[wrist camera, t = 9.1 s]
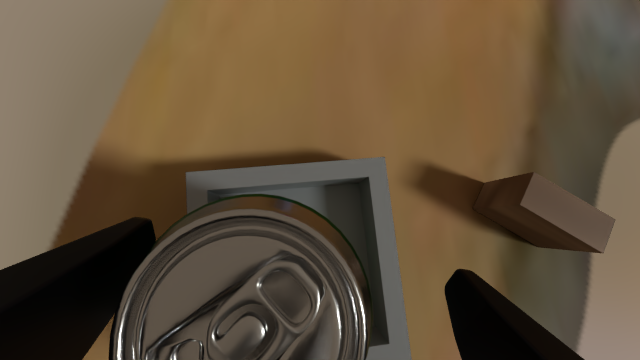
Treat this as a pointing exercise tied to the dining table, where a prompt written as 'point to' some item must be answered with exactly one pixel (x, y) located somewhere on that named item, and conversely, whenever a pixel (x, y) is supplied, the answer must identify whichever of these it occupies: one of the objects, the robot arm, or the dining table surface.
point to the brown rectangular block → (544, 213)
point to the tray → (345, 213)
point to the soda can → (246, 288)
